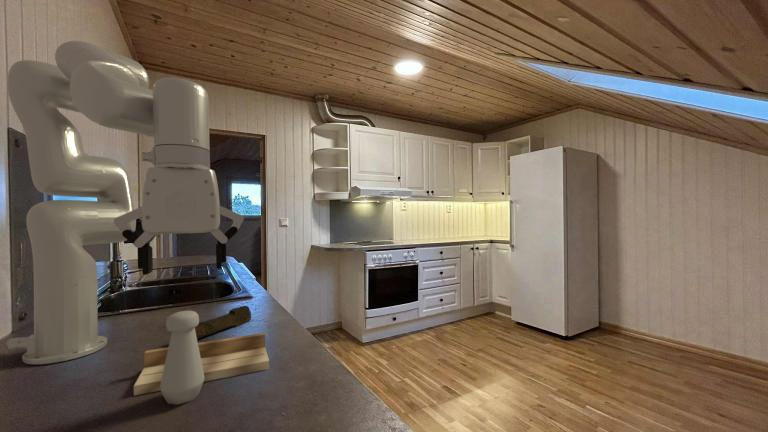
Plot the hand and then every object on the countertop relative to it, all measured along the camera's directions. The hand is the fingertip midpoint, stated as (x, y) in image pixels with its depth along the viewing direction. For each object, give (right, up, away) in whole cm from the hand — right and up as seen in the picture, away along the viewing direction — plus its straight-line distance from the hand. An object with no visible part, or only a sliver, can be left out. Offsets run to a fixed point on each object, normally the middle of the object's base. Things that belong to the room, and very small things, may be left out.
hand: (184, 270), depth 51 cm
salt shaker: (0, -20, -1) cm, 20 cm away
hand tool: (-10, -20, +29) cm, 36 cm away
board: (-1, -19, +9) cm, 21 cm away
